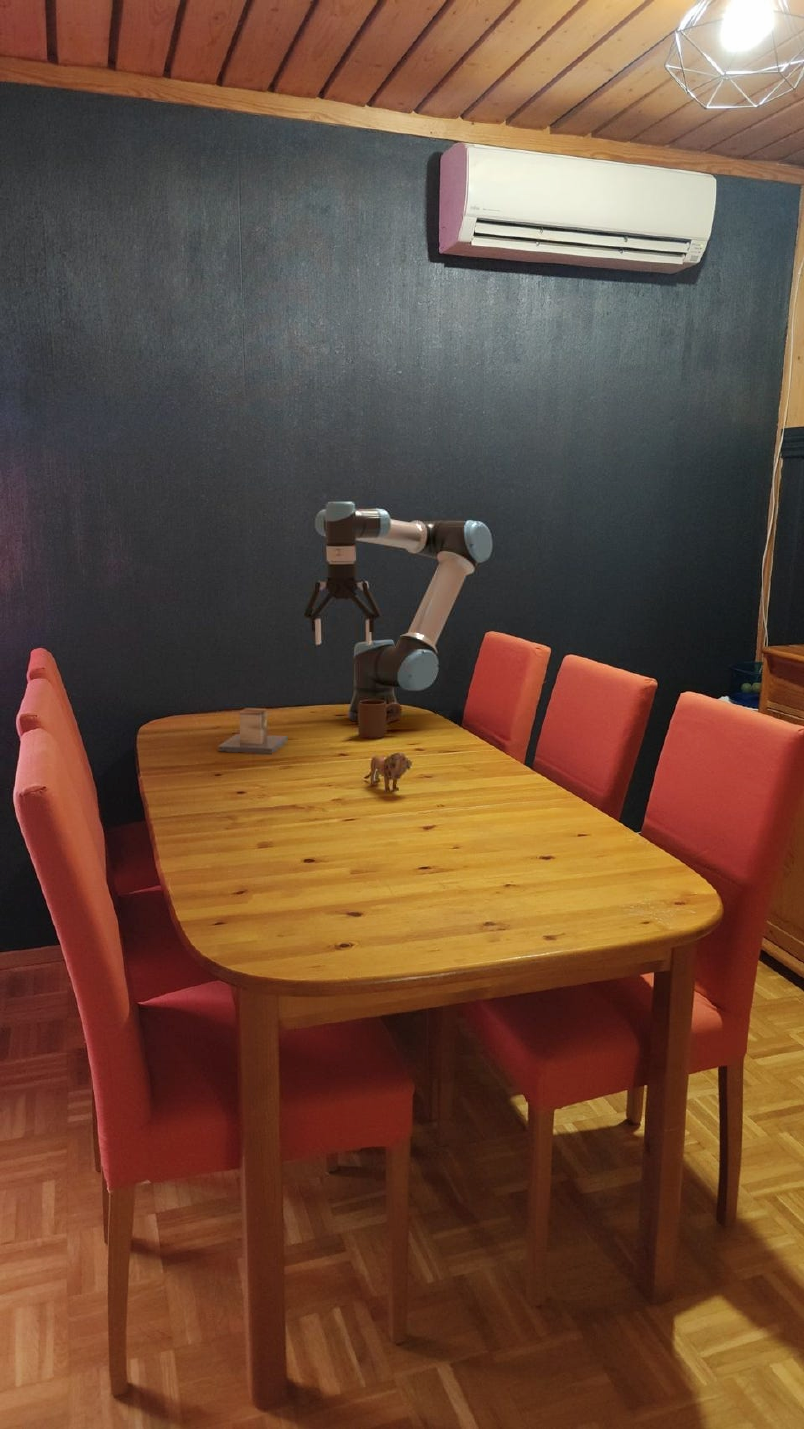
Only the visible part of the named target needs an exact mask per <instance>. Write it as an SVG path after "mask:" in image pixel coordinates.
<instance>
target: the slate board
mask: <svg viewBox="0 0 804 1429" xmlns="http://www.w3.org/2000/svg"><path fill="white" fill-rule="evenodd" d="M287 742H288V736H287V735H271V734H270V735H269V734H267V740H265V741H264V742H263V743H261V744H250V743H240V733H235V734H234V735H233V736H231V737H230V738H228V739H227V740H225V741H224V742H223V743H221V744H219V745H218V747H217V750H218V751H226V752H225V753H238V752H245V753H244V754H263V755H264V754H266V755H273V754H274V753H275V752H276V751H277V750H279V749H280V748H281V747H283V746H284V745H285V744H286V743H287Z"/></svg>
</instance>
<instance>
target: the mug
mask: <svg viewBox="0 0 804 1429" xmlns="http://www.w3.org/2000/svg"><path fill="white" fill-rule="evenodd" d="M392 708H397V710H396V712H395V714H393V715H388V716H386V711H388V710H390V709H392ZM402 713H403V708H402V706H401V704H400V703H398V702H397V703H396V702H391V703H389V704H387V705H386V702H385V701H381V700H363V701H360V702H359V707H358V722H357V723H358V724H357V726H358V727H357V728H358V732H357V733H358V735H359V737H360V738H362V739H369V740H374V739H375V740H376V739H383V738H385V737H386V735H387V725H388V724H389V723H391V722H390V721H392V722H394V721H393V720H396V719H398V718H399V717H401V716H402ZM399 719H400V718H399ZM399 719H398V720H399ZM396 721H397V720H396Z"/></svg>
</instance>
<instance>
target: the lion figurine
mask: <svg viewBox="0 0 804 1429" xmlns="http://www.w3.org/2000/svg"><path fill="white" fill-rule="evenodd" d="M412 765H413V761H412V760H410V759H409V758H408V757H406V753H405V752H403V751H400V752H396V753H392V754H391V755H390V756H387V757H386V758H384V756H383V755H380V754H375V755H374V756H373V757H372V758H371V761H370V773H369V774H367V775H365V776H364V777H363V778H364V779H365V780H367V779H369V778H370V783H369V785H370V786H369V787H374V786H375V787H376V783H375V782H380V781H381V778H380V776H381V777H383V779H384V793H386V794H390V793H391V788H392V789H393V791H399V790H400V788H399V787H397V783H398V781H399V779H401V777H402V776H404V774H406V773H407V770H408V771H410V769H411V767H412ZM390 780H392V787H391V788H390Z"/></svg>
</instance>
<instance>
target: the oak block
mask: <svg viewBox="0 0 804 1429" xmlns="http://www.w3.org/2000/svg"><path fill="white" fill-rule="evenodd" d="M267 711H268V709H267V708H253V707H252V708H251V707H250V708H249V707H245V708H243V709H242V710H240V711H239V712H238V718H239V719H238V720H239V723H238V724H239V726H238V727H239V734H240V743H250V744H261V743H263V742H264V741H265V740H267V735H268V726H267V725H268V721H267V718H268V717H267V716H268V715H267Z"/></svg>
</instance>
